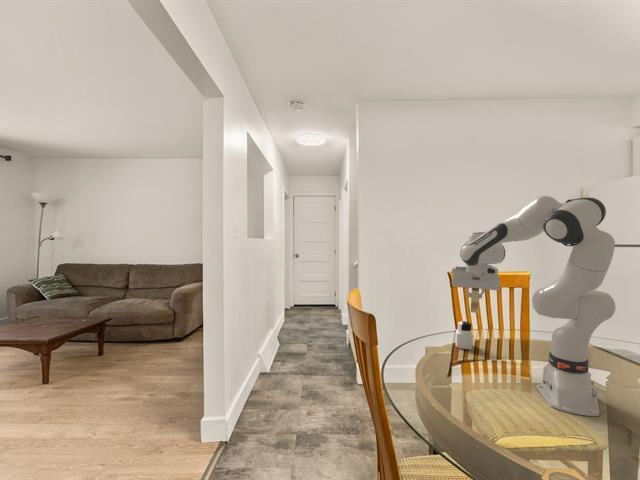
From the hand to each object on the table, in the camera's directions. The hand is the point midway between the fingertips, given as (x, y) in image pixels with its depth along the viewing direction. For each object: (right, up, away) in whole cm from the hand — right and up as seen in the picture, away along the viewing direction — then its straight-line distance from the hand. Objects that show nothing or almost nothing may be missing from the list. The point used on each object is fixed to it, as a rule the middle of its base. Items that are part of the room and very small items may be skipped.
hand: (474, 297), depth 168 cm
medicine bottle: (0, -26, +13) cm, 29 cm away
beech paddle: (0, -6, +1) cm, 6 cm away
